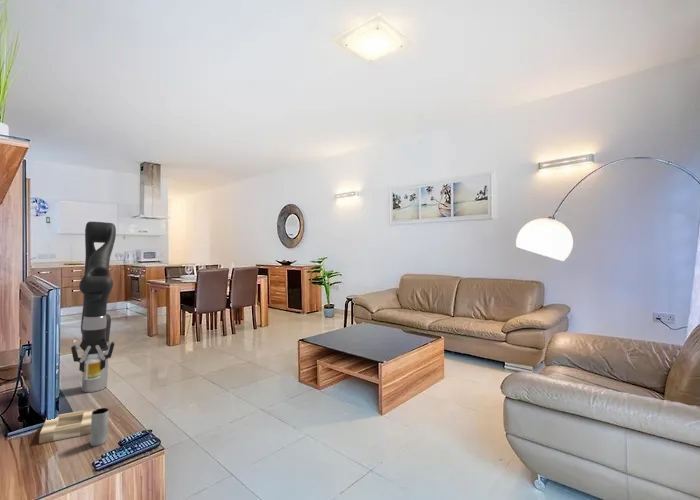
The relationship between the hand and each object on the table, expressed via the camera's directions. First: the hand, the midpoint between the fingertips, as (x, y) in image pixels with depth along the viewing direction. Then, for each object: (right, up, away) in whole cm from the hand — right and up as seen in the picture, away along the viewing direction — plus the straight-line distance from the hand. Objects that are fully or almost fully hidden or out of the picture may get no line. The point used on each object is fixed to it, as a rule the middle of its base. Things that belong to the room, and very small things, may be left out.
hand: (92, 370), depth 136 cm
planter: (+18, -17, -22) cm, 33 cm away
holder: (+2, -16, -14) cm, 21 cm away
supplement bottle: (0, -3, 0) cm, 3 cm away
